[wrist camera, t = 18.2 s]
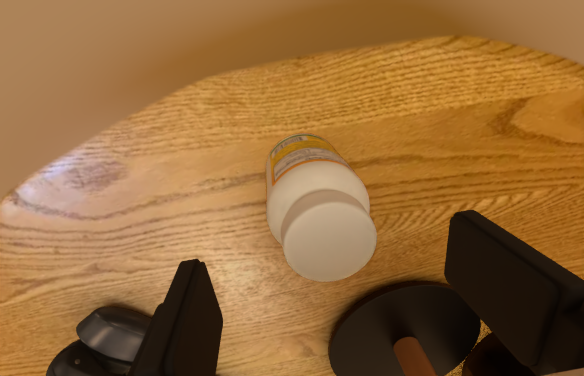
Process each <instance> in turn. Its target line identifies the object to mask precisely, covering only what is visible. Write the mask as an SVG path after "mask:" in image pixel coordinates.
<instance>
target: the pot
mask: <svg viewBox="0 0 584 376" xmlns="http://www.w3.org/2000/svg"><path fill="white" fill-rule="evenodd" d="M555 373H559V372H558V371H557V370H556V372H555ZM462 376H536V375H535V374H534V372H533V371H532V370H531V369H530V368H529V367H528V366H525V365H523V364H521V363H520V362H519V361H518V360H517V359H516V357H515V356H514V355H513V354H512V353H511V352H510V351H509V350H508V349H507V347H506V346H505V345H504V344H503V343H502V342H501V341H500V340H499V339H498V337H497V336H496V335H495V334H494V333H493V332H492V333H491V334H489V335H488V336H487V337H485V338H484V339H483V340H482V341H481V342H480V343H479V344H478V345H477V346H476V347H475V348H474V349H473V350H472V351H471V353H470V354H469V356H468V357H467V359H466V361H465V363H464V366H463V370H462Z"/></svg>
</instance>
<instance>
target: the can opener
mask: <svg viewBox="0 0 584 376" xmlns="http://www.w3.org/2000/svg"><path fill="white" fill-rule="evenodd" d="M151 320H152V319H151V318H149V317H146V316H144V315H142V314H139V313H137V312H134V311H131V310H127V309H123V308H117V307H101V308H98V309H96V310H94V311H93V312H92V313H91V314H90V315H88V316H87V317H86V318H85V319H84V320H82V321H81V322H80V323H79V324H78V326H77V327H76V332H77V335H78V336H79V338H80V339H79V340H77V341H75V342H73V343H71V344H70V345H68V346H67V347H66V348H64V349H63V350H62V351H61V352H60V353H59V354H58V355H57V356H56V357H55V358H54V359H53V360H52V362H51V364H50V365H49V367H48V370H47V373H46V376H127V374H128V372H129V370H130V367H131V365H132V363H133V361H134V358H135V356H136V354H137V351H138V349H139V347H140V345H141V342H142V340H143V338H144V336H145V333H146V331H147V329H148V326H149V324H150V322H151Z"/></svg>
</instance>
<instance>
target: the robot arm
mask: <svg viewBox="0 0 584 376" xmlns="http://www.w3.org/2000/svg"><path fill="white" fill-rule="evenodd" d="M444 274H445V278H446V280H447V282H448V283H449V284H450V285H451V286H452V287H453V288H454V290H455V291H456V292H457V293H458V294H459V295H460V296H461V297H462V298H463V300H464V301H465V302H466V303H467V304H468V305H469V306H470V307H471V308H472V310H473V311H474V312H475V313H476V314H477V315H478V316H479V317H480V318H481V320H482V321H483V322H484V323H485V324H486V325H487V326H488V327H489V329H490V330H491V331H492V332H493V333H494V334H495V335H496V336H497V337H498V339H499V340H500V341H501V342H502V343H503V344H504V345H505V346H506V347H507V349H508V350H509V351H510V352H511V353H512V354H513V355H514V356H515V357H516V359H517V360H518V361H519V362H520V363H521V364H523V365H525V366H528V367H529V368H530V369H531V370H532V371H533V372H534V374H535V375H536V376H584V280H582V279H581V278H579V277H578V276H576V275H575V274H573V273H571V272H570V271H568V270H567V269H565V268H564V267H562V266H561V265H559V264H557V263H556V262H554V261H553V260H551V259H550V258H548V257H546V256H545V255H543V254H542V253H540V252H539V251H537V250H536V249H534V248H532V247H531V246H529V245H528V244H526V243H525V242H523V241H522V240H520V239H518V238H517V237H515V236H514V235H512V234H511V233H509V232H507V231H506V230H504V229H503V228H501V227H500V226H498V225H497V224H495V223H493V222H492V221H490V220H489V219H487V218H486V217H484V216H483V215H481V214H479V213H478V212H476V211H474V210H466V211H461V212H456V213H455V214H454V216H453V217H452V218H451V219H450V226H449V235H448V243H447V252H446V261H445V270H444ZM222 327H223V317H222V313H221V310H220V307H219V304H218V301H217V298H216V295H215V292H214V289H213V286H212V283H211V280H210V277H209V274H208V271H207V268H206V265H205V263H204V262H200V261H199V260H198V259H193V260H187V261H182V262H181V263H180V264H179V267H178V269H177V272H176V274H175V276H174V279H173V281H172V283H171V286H170V288H169V291H168V293H167V295H166V298H165V300H164V302H163V303H161V304H160V305H158V307H157V309H156V311H155V313H154V315H153V317H152V320H151V322H150V324H149V326H148V329H147V331H146V333H145V336H144V338H143V340H142V342H141V345H140V347H139V349H138V351H137V354H136V356H135V358H134V361H133V363H132V365H131V367H130V370H129V372H128V374H127V376H215V374H216V367H217V360H218V354H219V347H220V340H221V333H222ZM556 370H557V371H558V372H559V373H555V372H556Z"/></svg>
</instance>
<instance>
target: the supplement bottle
mask: <svg viewBox="0 0 584 376" xmlns="http://www.w3.org/2000/svg"><path fill="white" fill-rule="evenodd" d="M369 212H370V202H369V196H368V193H367V190H366V188H365V186H364V184H363V182H362V181H361V179H360V178H359V177H358V176H357V175H356V173H355V172H354V171H353V170H352V169H351V168H350V166H349V165H348V164H347V163H346V162H345V161H344V160H343V159H342V157H341V156H340V155H339V154H338V153H337V152H336V150H335V149H334V148H333V147H332V146H331V145H330V144H329V143H328V142H327V141H326V140H325V139H323V138H321V137H319V136H317V135H314V134H309V133H299V134H294V135H291V136H288V137H286V138H284V139H283V140H281V141H280V142H278V143H277V144H276V145H275V147H274V148H273V149H272V151H271V152H270V154H269V156H268V159H267V162H266V217H267V222H268V226H269V228H270V231H271V233H272V234H273V236H274V237H275V239H276V240H277V241H278V242H279V243H280V244H281V245H282V246H283V252H284V256H285V259H286V261H287V263H288V264H289V266H290V267H291V268H292V269H293V270H294V271H295V272H296V273H297V274H299V275H300V276H302V277H304V278H306V279H309V280H313V281H318V282H332V281H338V280H342V279H345V278H347V277H349V276H351V275H353V274H355V273H356V272H358V271H359V270H360V269H362V268H363V267H364V266H365V265H366V264H367V263H368V261H369V260H370V258H371V257H372V255H373V253H374V251H375V247H376V243H377V232H376V228H375V225H374V223H373V221H372V219H371V217H370V216H369Z"/></svg>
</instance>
